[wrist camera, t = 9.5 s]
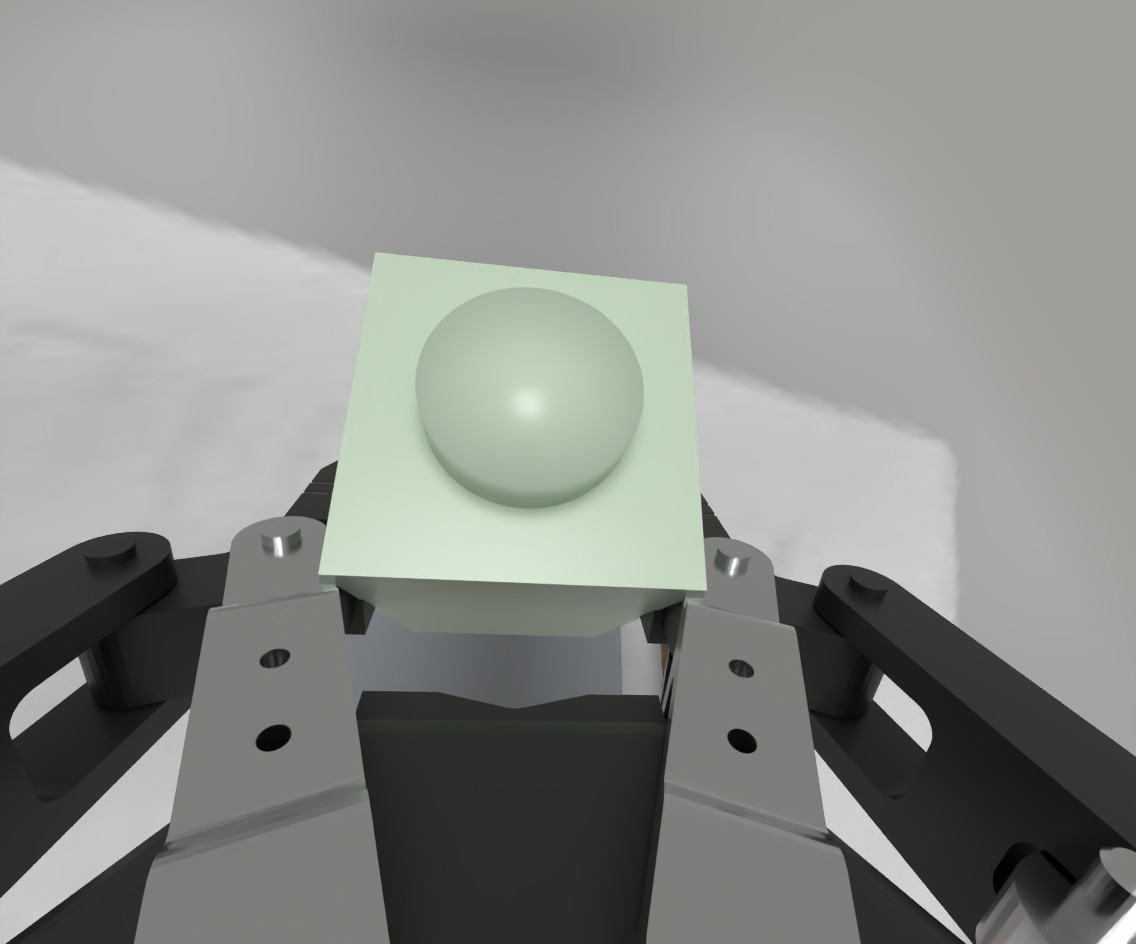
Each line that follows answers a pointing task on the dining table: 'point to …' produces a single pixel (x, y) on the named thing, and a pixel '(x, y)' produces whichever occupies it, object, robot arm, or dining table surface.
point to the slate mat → (483, 664)
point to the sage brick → (517, 451)
